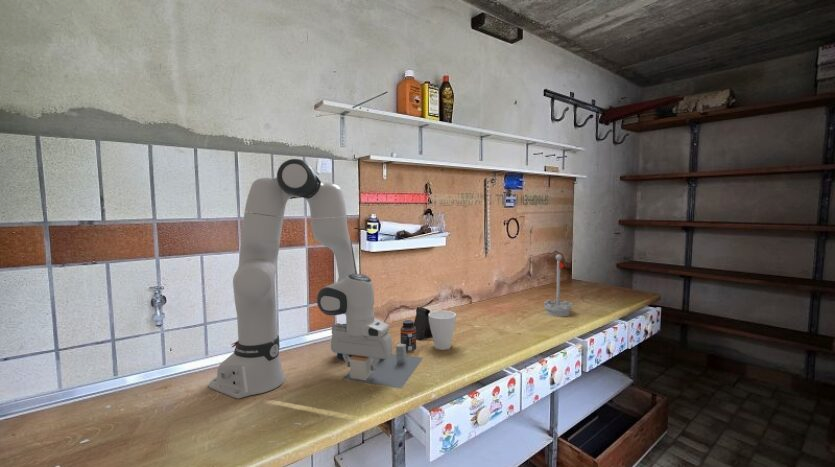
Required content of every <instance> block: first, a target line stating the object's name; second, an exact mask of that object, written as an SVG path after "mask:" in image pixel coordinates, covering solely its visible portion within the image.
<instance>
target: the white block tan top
mask: <svg viewBox="0 0 835 467" xmlns="http://www.w3.org/2000/svg"><path fill="white" fill-rule="evenodd" d="M372 363H373V361H372V357H364V356H357V355H352V356H351V357H350V367H349V369H350V371H349V372H350V375H351V378H354V379H361V380H366V379H367V378H368V377H369V376H370V375H371V374H372V373H373V371H372V370H371V367H370V365H371V364H372Z"/></svg>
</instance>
